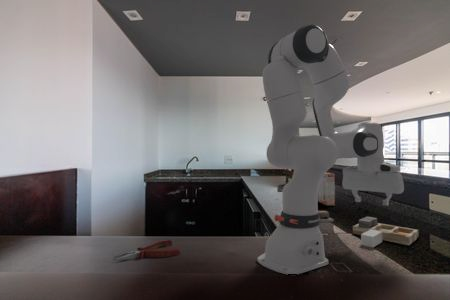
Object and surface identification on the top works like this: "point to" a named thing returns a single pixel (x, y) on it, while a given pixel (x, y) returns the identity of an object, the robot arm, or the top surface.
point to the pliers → (151, 251)
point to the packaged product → (324, 216)
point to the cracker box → (327, 189)
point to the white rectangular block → (371, 238)
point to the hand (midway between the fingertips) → (371, 203)
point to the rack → (387, 231)
